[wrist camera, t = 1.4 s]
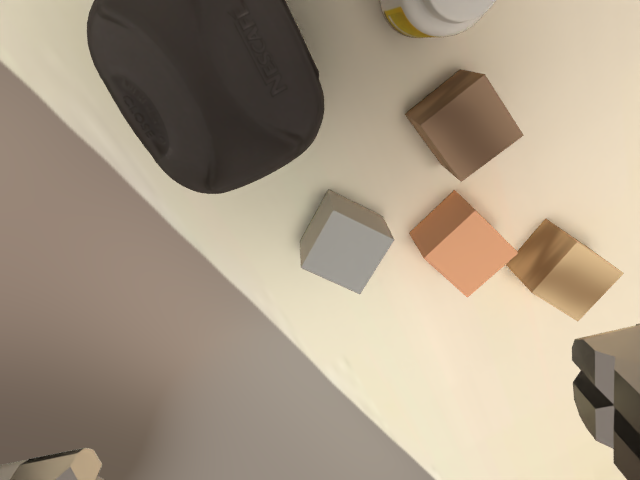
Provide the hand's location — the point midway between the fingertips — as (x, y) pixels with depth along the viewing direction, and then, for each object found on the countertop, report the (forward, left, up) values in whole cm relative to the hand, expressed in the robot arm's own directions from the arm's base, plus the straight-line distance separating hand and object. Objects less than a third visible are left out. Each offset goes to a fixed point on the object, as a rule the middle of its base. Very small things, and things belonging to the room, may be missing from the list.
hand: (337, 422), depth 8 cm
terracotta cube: (-2, +15, -31) cm, 34 cm away
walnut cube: (-8, +8, -31) cm, 33 cm away
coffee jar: (-1, -6, -31) cm, 31 cm away
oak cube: (-6, +23, -31) cm, 39 cm away
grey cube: (+4, +8, -31) cm, 32 cm away
